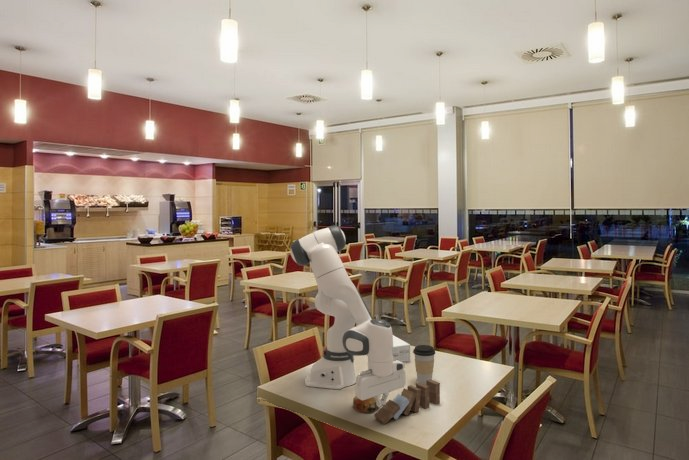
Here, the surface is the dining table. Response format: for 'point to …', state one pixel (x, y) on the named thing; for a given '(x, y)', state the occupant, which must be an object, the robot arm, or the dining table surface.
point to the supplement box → (401, 350)
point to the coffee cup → (424, 362)
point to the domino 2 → (400, 404)
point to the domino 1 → (387, 412)
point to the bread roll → (365, 405)
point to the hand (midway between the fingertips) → (381, 405)
